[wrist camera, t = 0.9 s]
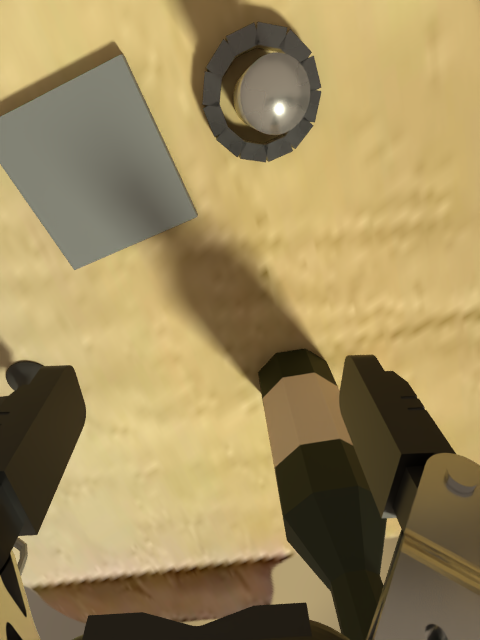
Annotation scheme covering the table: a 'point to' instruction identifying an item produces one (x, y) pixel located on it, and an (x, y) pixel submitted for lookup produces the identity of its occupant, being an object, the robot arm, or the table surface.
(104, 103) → the slate mat
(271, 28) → the metal eye
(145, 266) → the table surface
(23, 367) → the sundae
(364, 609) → the wine bottle
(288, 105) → the cylinder
